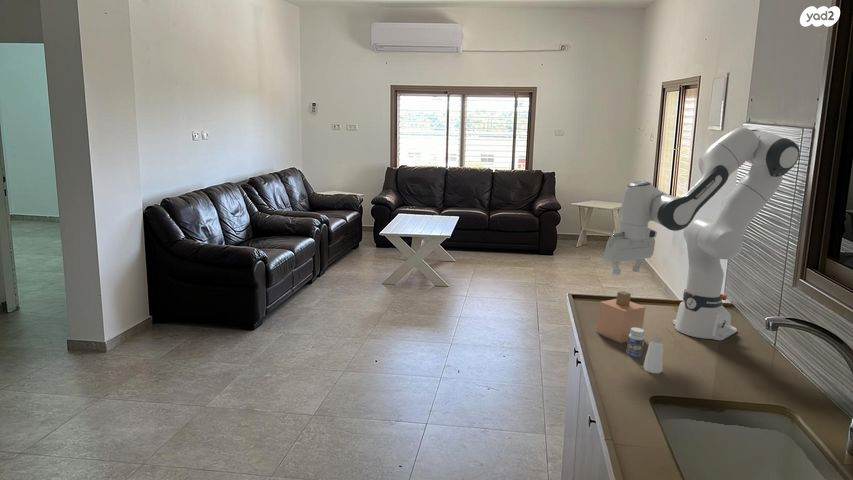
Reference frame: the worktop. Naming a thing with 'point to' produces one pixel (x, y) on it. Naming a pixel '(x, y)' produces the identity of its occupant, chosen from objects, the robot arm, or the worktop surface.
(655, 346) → the pepper shaker
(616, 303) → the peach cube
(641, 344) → the pill bottle
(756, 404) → the worktop surface
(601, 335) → the mat
